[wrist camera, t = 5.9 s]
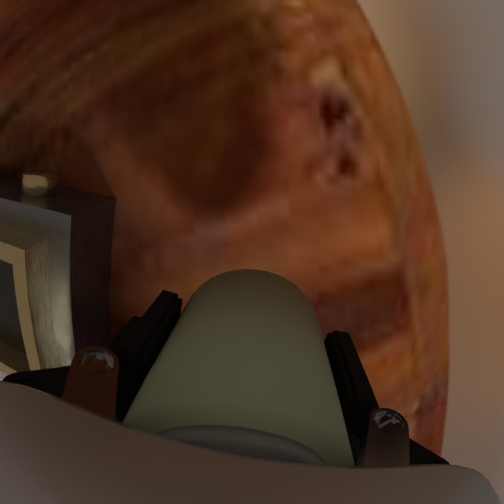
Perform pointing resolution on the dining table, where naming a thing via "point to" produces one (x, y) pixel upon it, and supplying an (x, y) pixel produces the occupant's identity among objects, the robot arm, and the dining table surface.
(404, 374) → the dining table surface
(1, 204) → the toy stove
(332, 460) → the pale green cup
